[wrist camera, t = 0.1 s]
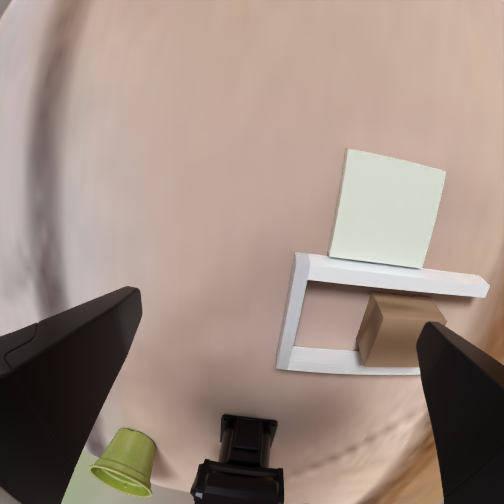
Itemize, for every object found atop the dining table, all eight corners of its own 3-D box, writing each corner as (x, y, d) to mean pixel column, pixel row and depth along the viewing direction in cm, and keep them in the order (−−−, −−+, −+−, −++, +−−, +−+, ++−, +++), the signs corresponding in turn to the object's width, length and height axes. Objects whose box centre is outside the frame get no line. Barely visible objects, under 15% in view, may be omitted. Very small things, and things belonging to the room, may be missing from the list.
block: (411, 339, 26) (424, 367, 23) (355, 337, 26) (364, 366, 23) (429, 296, 24) (447, 321, 21) (371, 290, 24) (383, 317, 21)
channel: (440, 361, 27) (446, 373, 25) (276, 354, 28) (276, 368, 26) (479, 275, 23) (489, 285, 21) (295, 252, 23) (296, 263, 22)
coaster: (417, 264, 23) (421, 268, 22) (327, 252, 23) (329, 256, 23) (441, 169, 20) (446, 171, 19) (346, 147, 20) (348, 148, 19)
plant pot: (178, 448, 37) (164, 496, 29) (147, 458, 40) (132, 499, 32) (125, 414, 35) (103, 463, 27) (100, 428, 38) (80, 469, 30)
